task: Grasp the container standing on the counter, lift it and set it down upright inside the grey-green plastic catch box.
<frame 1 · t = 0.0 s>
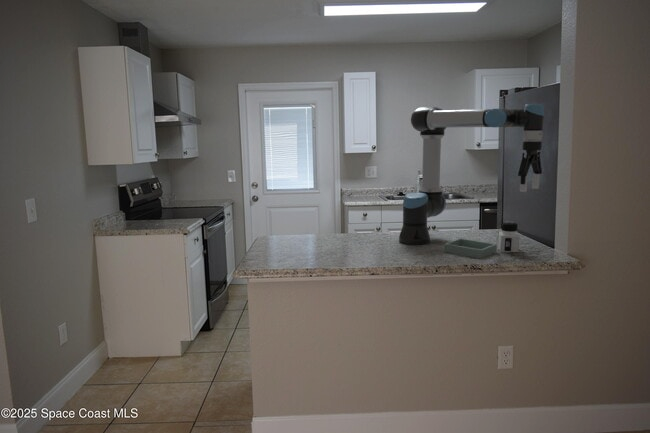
hand: (529, 190, 217), 28 cm above the counter, fingers open, 13 cm apart
container: (508, 251, 226), on the counter
catch box: (470, 251, 225), on the counter
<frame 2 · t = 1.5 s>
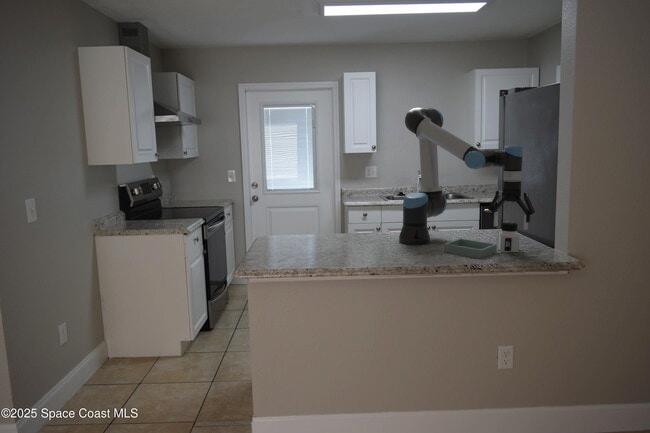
hand: (510, 227, 224), 11 cm above the counter, fingers open, 13 cm apart
nothing on the counter moved.
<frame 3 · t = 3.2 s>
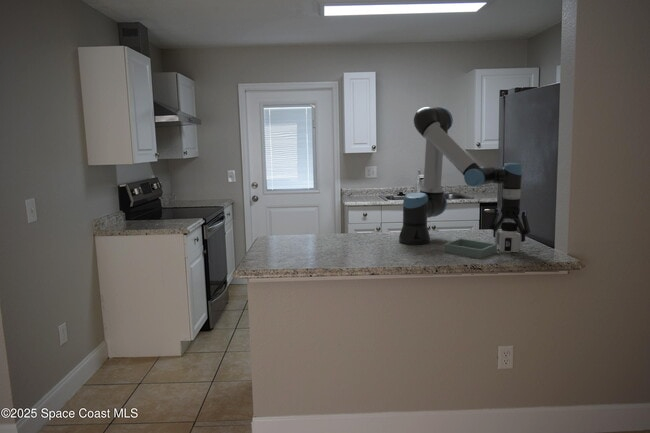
hand: (508, 246, 226), 2 cm above the counter, fingers closed on container, 10 cm apart
container: (508, 251, 226), on the counter, touching gripper
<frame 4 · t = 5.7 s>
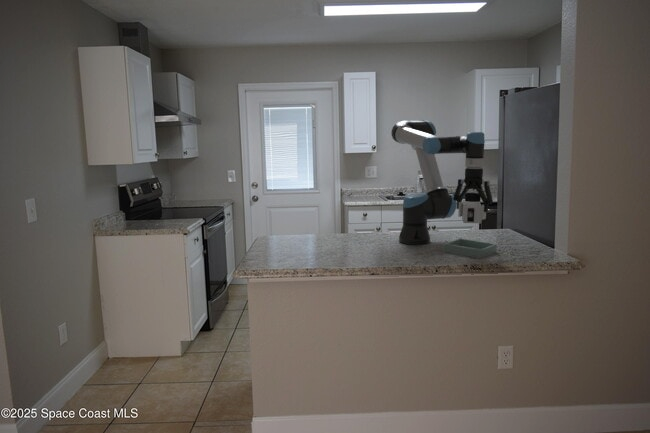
hand: (471, 217, 222), 16 cm above the counter, fingers closed on container, 10 cm apart
container: (471, 222, 222), point 14 cm above the counter, touching gripper
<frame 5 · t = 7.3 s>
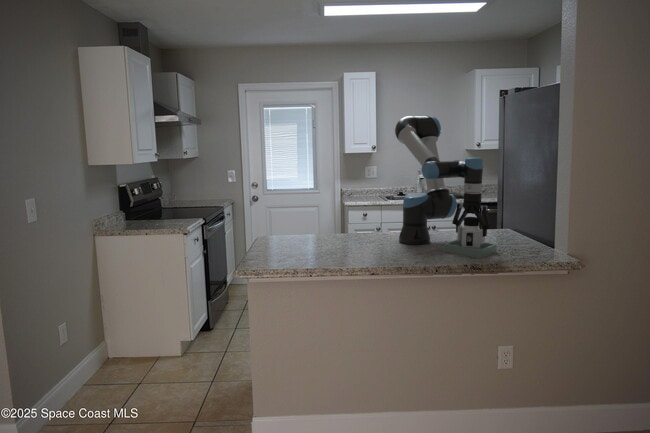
hand: (470, 241, 224), 5 cm above the counter, fingers closed on container, 10 cm apart
container: (470, 246, 224), point 3 cm above the counter, touching gripper
when the fingers open (4 cm above the counter, at t = 8.4 s): container drops 2 cm, resting on catch box.
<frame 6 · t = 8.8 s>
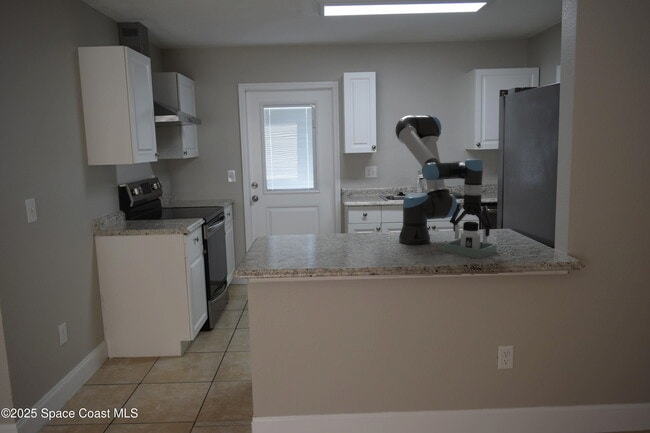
hand: (470, 241, 224), 5 cm above the counter, fingers open, 13 cm apart
container: (469, 250, 225), resting on catch box
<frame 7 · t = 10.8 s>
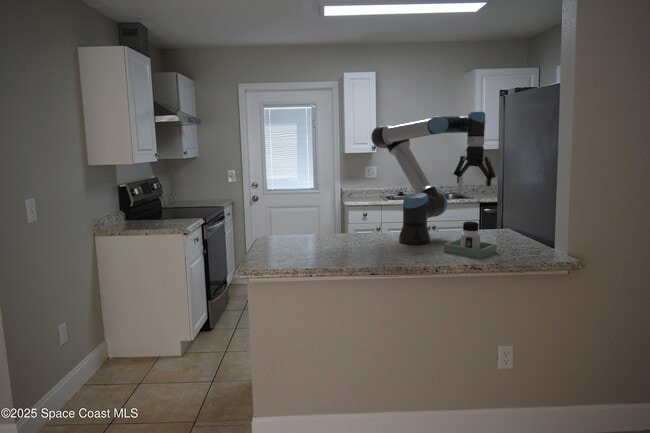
hand: (473, 191, 233), 25 cm above the counter, fingers open, 13 cm apart
nothing on the counter moved.
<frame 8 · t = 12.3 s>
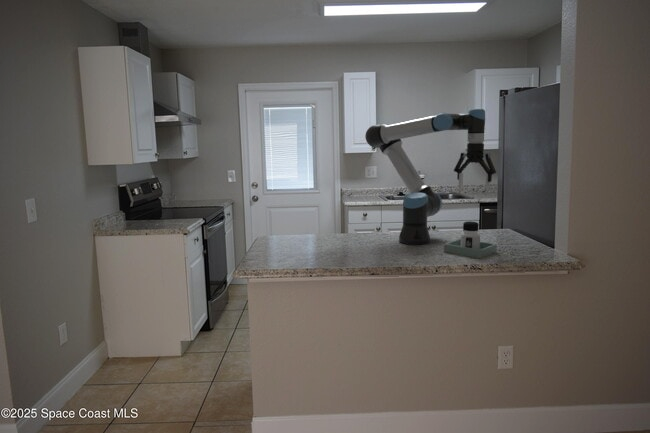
hand: (473, 187, 237), 27 cm above the counter, fingers open, 13 cm apart
nothing on the counter moved.
at the end: container inside the target area on the catch box (0.2 cm from its centre), point 0.4 cm above the catch box's base; container tilted 0°; the gripper is holding nothing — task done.
